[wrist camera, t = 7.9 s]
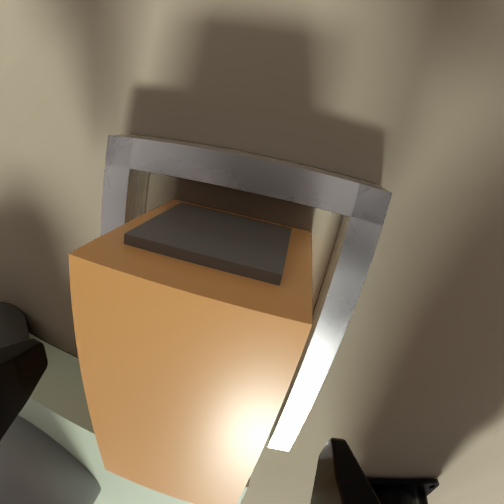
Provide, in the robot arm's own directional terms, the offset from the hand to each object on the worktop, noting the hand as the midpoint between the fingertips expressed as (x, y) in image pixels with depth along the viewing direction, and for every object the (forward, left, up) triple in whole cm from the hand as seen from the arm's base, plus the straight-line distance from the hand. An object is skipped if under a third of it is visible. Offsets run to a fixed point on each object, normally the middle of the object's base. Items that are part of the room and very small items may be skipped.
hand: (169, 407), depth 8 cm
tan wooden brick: (0, 0, -5) cm, 5 cm away
